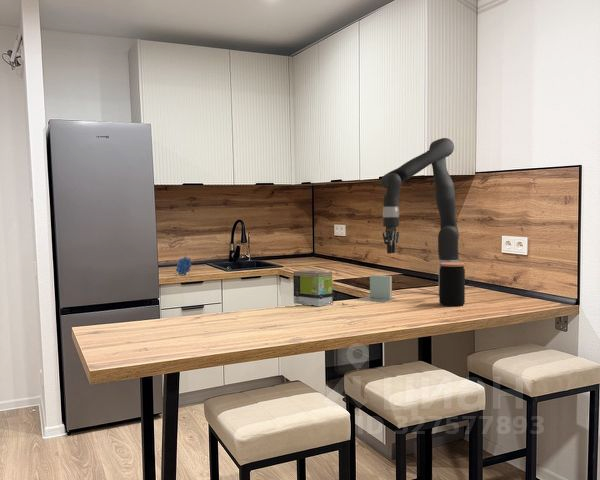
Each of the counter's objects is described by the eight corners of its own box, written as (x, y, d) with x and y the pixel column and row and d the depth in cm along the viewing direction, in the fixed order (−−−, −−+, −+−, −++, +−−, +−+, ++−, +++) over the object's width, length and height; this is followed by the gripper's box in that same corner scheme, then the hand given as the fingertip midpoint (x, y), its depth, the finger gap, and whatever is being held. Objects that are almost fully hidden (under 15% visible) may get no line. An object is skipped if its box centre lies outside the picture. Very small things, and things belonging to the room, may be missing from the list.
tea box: (333, 304, 249) (333, 271, 248) (318, 307, 242) (317, 272, 241) (307, 301, 259) (307, 268, 258) (292, 303, 252) (292, 270, 251)
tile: (391, 298, 255) (391, 276, 255) (390, 298, 253) (389, 276, 253) (371, 296, 261) (371, 274, 260) (369, 297, 259) (369, 275, 258)
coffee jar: (466, 303, 247) (466, 262, 246) (462, 307, 238) (462, 264, 237) (441, 302, 252) (442, 262, 251) (437, 305, 242) (437, 264, 241)
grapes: (187, 273, 380) (187, 256, 380) (193, 274, 376) (193, 256, 375) (172, 275, 372) (172, 257, 372) (178, 276, 367) (178, 257, 367)
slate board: (396, 301, 255) (396, 298, 255) (383, 305, 243) (383, 302, 243) (369, 299, 263) (369, 295, 263) (354, 303, 251) (354, 299, 251)
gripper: (392, 216, 256) (392, 254, 257) (404, 216, 268) (404, 252, 269) (377, 216, 261) (377, 254, 261) (390, 216, 272) (390, 252, 273)
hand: (391, 253), depth 265 cm, fingers open, 3 cm apart
